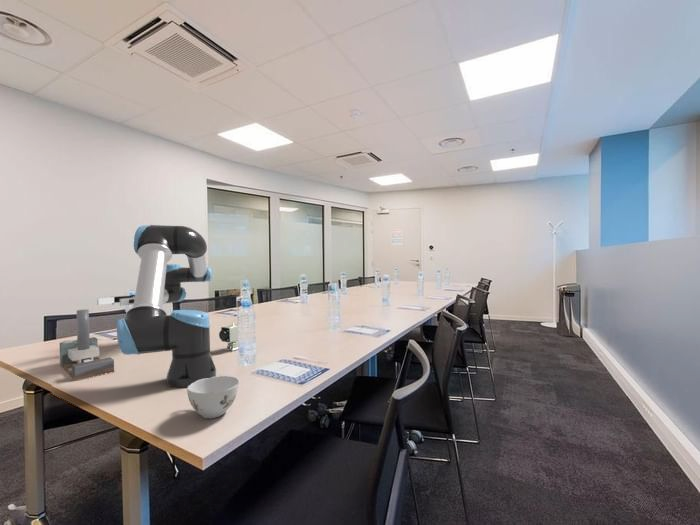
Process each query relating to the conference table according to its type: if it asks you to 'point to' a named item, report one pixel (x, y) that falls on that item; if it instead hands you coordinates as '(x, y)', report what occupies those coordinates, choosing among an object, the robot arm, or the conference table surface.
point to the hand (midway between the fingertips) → (108, 302)
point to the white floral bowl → (213, 395)
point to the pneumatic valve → (230, 336)
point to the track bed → (84, 362)
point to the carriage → (83, 339)
